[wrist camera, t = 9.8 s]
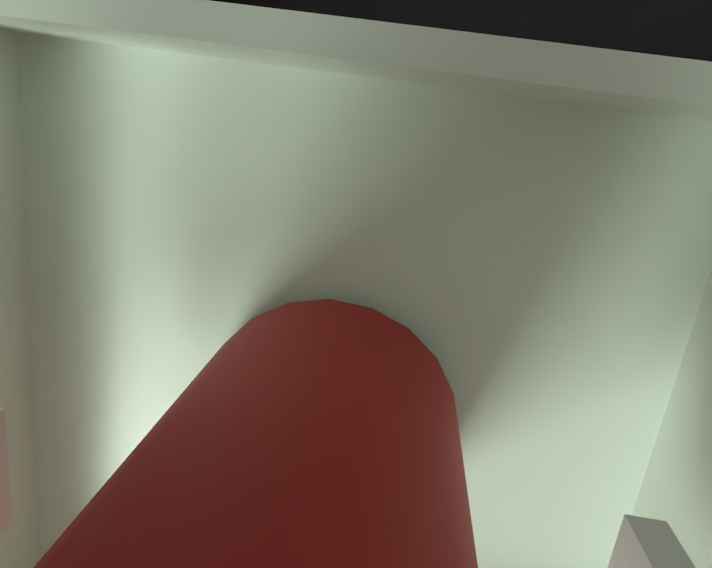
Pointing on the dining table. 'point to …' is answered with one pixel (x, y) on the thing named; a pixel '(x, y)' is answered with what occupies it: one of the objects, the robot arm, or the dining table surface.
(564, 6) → the dining table surface
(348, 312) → the beer can
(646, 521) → the robot arm
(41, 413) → the bin
